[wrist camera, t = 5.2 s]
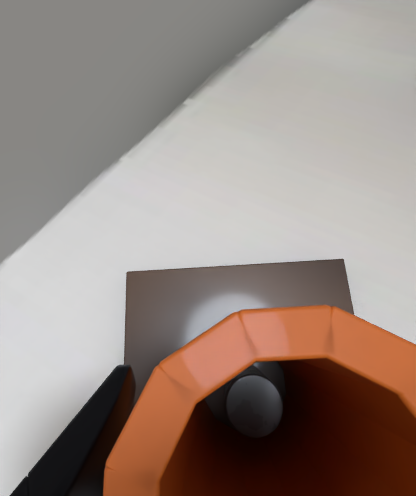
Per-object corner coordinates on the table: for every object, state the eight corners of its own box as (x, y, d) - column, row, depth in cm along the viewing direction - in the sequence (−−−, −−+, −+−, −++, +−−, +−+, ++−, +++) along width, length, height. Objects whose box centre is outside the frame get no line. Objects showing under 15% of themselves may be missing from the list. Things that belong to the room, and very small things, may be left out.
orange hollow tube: (309, 446, 14) (633, 853, 3) (189, 452, 14) (86, 862, 3) (293, 322, 15) (465, 296, 5) (185, 328, 15) (108, 317, 5)
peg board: (382, 514, 13) (488, 630, 8) (125, 525, 14) (67, 645, 8) (337, 262, 17) (390, 230, 12) (131, 275, 17) (92, 249, 12)
